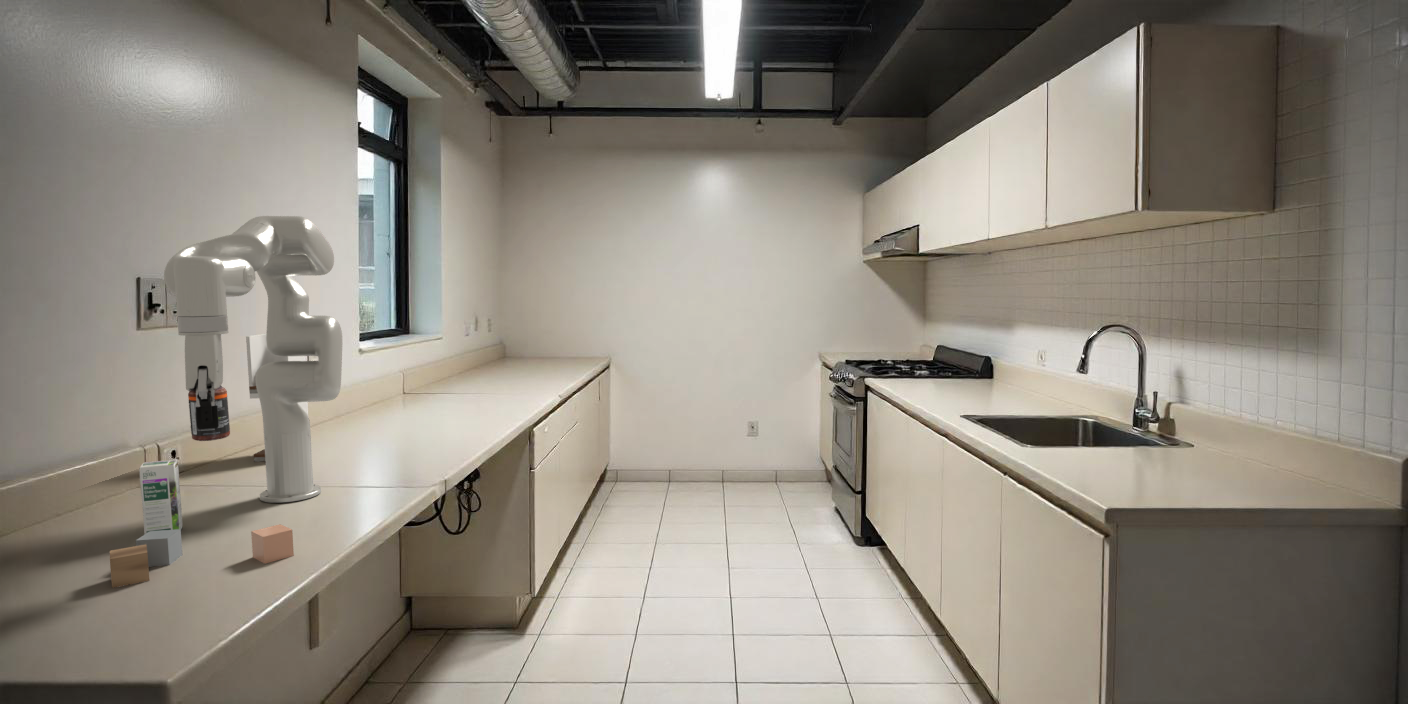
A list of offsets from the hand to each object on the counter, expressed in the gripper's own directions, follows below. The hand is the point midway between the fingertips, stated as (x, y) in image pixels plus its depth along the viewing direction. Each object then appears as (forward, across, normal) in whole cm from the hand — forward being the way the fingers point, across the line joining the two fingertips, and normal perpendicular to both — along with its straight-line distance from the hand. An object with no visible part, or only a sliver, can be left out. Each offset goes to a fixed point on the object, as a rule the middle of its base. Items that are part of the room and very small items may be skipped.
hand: (210, 424), depth 138 cm
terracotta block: (+24, +6, +9) cm, 27 cm away
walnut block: (+24, +7, -12) cm, 28 cm away
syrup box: (+25, -19, -11) cm, 33 cm away
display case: (+25, -84, +8) cm, 88 cm away
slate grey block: (+24, -1, -9) cm, 26 cm away
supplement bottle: (+3, 0, 0) cm, 3 cm away
